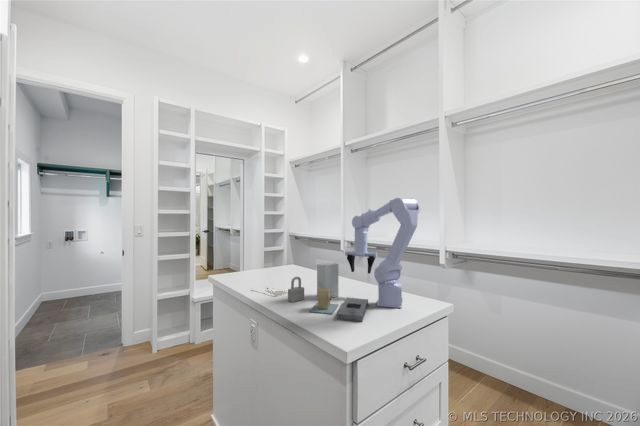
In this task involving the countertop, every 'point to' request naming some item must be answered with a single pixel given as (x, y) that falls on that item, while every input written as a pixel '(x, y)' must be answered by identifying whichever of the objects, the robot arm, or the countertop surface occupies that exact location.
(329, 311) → the rubber mat
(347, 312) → the grey slotted base plate
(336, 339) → the countertop surface
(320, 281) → the skincare box
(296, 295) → the padlock
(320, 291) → the tan rectangular block
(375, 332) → the countertop surface
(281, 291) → the grooming comb
